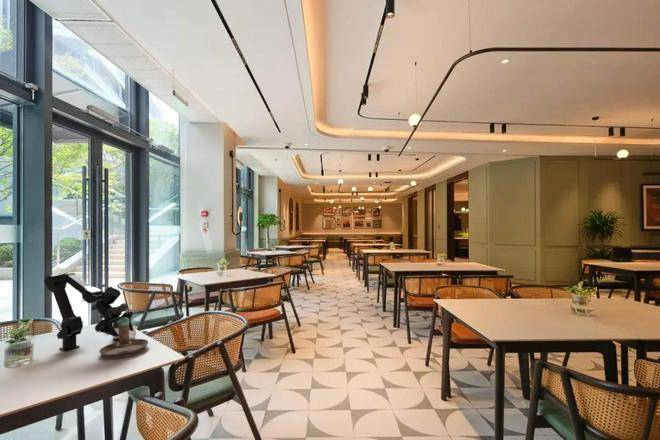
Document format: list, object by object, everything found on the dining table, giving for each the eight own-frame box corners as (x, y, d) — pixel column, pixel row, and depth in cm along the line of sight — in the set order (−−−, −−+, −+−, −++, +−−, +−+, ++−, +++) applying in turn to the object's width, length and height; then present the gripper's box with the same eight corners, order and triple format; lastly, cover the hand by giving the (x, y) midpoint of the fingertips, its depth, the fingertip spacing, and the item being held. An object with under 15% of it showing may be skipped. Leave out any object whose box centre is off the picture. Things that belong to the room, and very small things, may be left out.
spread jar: (114, 336, 191) (114, 316, 191) (137, 333, 195) (137, 313, 195) (110, 343, 180) (110, 321, 180) (134, 339, 184) (134, 318, 184)
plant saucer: (88, 361, 156) (88, 354, 156) (115, 345, 177) (115, 339, 177) (134, 360, 157) (134, 352, 157) (155, 344, 177) (155, 338, 177)
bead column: (114, 348, 163) (113, 319, 163) (119, 344, 169) (118, 316, 169) (129, 347, 165) (128, 318, 165) (133, 342, 171) (132, 315, 171)
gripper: (99, 303, 159) (120, 328, 157) (130, 295, 177) (149, 317, 175) (85, 319, 160) (105, 344, 158) (117, 309, 179) (135, 331, 176)
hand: (125, 333), depth 167 cm, fingers open, 9 cm apart
